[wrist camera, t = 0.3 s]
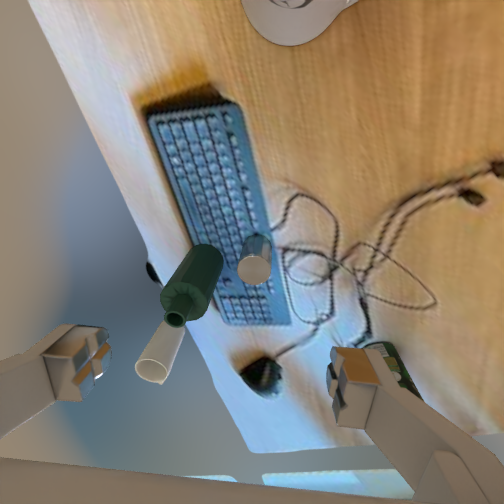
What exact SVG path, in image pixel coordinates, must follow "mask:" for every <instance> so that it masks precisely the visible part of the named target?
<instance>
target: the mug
mask: <svg viewBox="0 0 504 504" xmlns="http://www.w3.org/2000/svg"><path fill="white" fill-rule="evenodd" d="M184 334H185V327H184V326H183V327H180V328H174V327H171V326H169V325H168V324H167V323H166V322H165V320H164V321H162V323H161V324H160V325H159V327H158V329H157V330H156V332H155V334H154V335H153V337H152V338H151V340H150V342H149V343H148V345H147V346H146V348H145V350H144V351H143V353H142V354H141V356H140V358H139V360H138V361H137V363H136V365H135V370H136V372H137V374H138V375H139V376H140V377H142V378H143V379H145V380H147V381H150V382H158V383H159V384H163V382H164V381H165V379H166V378H167V377H168V375H169V373H170V370H171V368H172V365H173V361H174V359H175V357H176V354H177V351H178V349H179V347H180V344H181V342H182V339H183V336H184Z"/></svg>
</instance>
